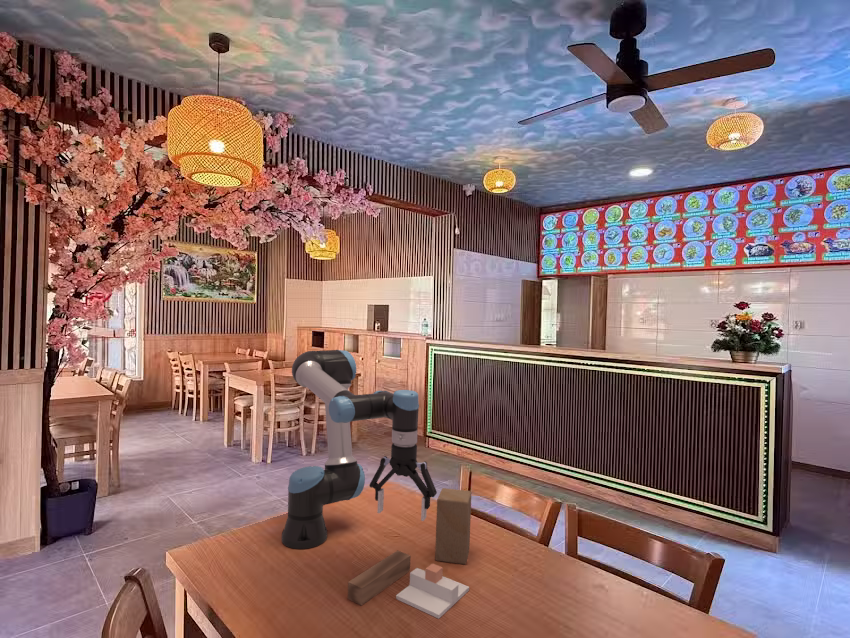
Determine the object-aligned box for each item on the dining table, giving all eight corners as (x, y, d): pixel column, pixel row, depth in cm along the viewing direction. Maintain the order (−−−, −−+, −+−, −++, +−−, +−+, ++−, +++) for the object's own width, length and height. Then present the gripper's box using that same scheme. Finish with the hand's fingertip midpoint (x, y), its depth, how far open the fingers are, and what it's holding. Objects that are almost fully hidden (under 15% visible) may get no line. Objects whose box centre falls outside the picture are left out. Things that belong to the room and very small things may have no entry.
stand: (396, 598, 132) (396, 571, 132) (428, 573, 145) (429, 549, 145) (438, 618, 124) (439, 590, 124) (469, 590, 137) (470, 564, 137)
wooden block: (466, 565, 150) (468, 502, 150) (434, 560, 152) (436, 498, 152) (469, 550, 160) (471, 490, 160) (440, 546, 162) (442, 487, 162)
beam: (347, 599, 131) (348, 581, 131) (397, 566, 149) (397, 550, 149) (361, 606, 128) (361, 588, 128) (409, 571, 146) (410, 555, 146)
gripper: (360, 441, 141) (357, 513, 141) (441, 452, 133) (438, 527, 134) (370, 435, 148) (368, 503, 148) (448, 445, 140) (445, 517, 141)
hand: (401, 515), depth 141 cm, fingers open, 13 cm apart
